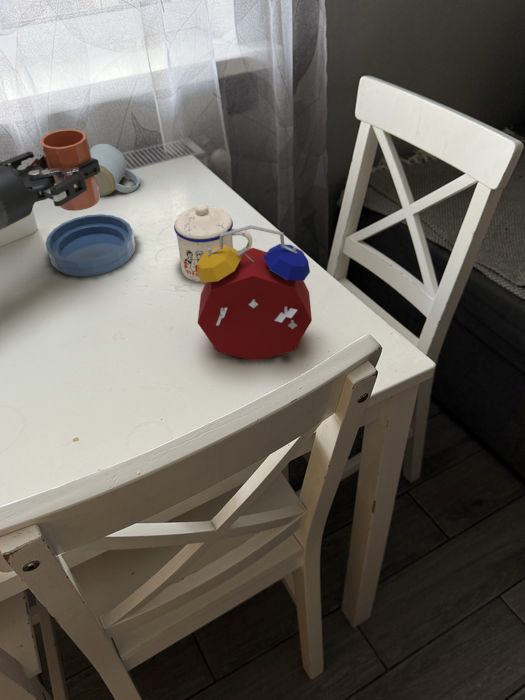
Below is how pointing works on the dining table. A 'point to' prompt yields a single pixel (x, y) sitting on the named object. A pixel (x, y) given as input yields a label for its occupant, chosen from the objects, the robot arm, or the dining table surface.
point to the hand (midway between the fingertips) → (81, 158)
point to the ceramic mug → (112, 170)
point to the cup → (70, 163)
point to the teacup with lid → (202, 235)
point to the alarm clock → (254, 298)
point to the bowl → (90, 245)
